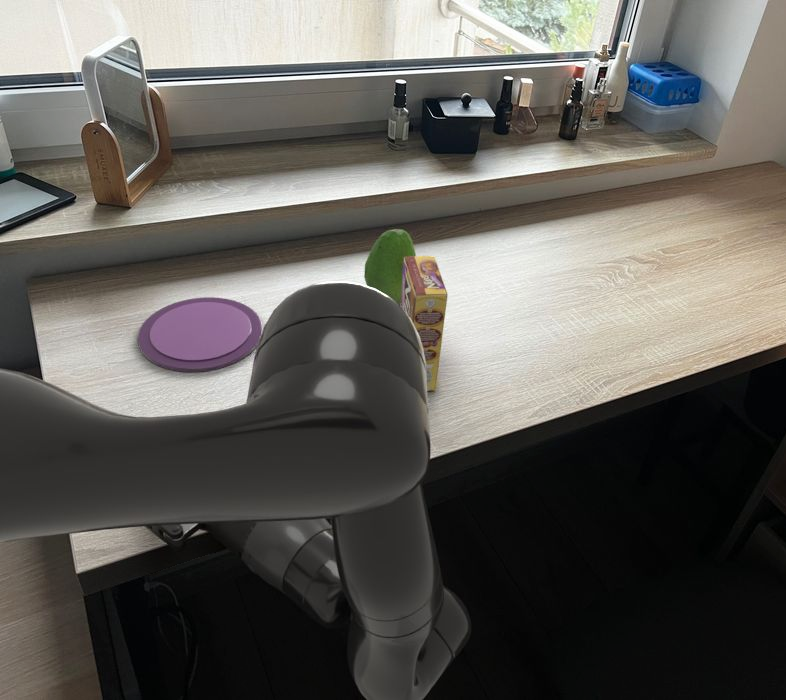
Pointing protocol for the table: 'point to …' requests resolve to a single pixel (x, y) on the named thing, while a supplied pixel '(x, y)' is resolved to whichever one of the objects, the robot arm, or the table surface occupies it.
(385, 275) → the avocado
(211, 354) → the plum dish
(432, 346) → the candy box
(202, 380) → the table surface
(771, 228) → the table surface
